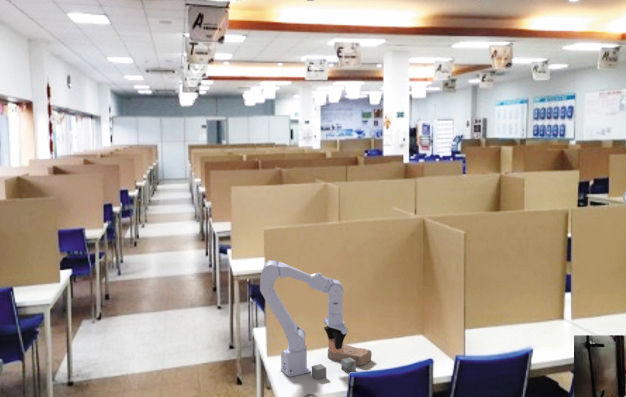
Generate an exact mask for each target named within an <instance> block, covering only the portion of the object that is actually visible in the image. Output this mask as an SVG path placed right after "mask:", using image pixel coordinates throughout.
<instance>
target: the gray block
mask: <svg viewBox="0 0 626 397" xmlns="http://www.w3.org/2000/svg"><path fill="white" fill-rule="evenodd" d="M311 377H312V378H313V379H315V380H316V381H319V380H323V379H326V378H327V367H326V366H324V365H323V364H322V363H320V364H316V365H311Z"/></svg>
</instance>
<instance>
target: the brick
mask: <svg viewBox="0 0 626 397" xmlns="http://www.w3.org/2000/svg"><path fill="white" fill-rule="evenodd" d="M372 354H373V353H372V350H371V349H367V348H361V347H360V348H359V347H355V346H352V345H348V344H344V343H343V351H341V352H337V353H333V352H331V351H330V350H329V348H327V358H328V359H330V360H333V361H337V362H341V359H346V358H352V359H353V360H355V361H356V366H358V367H359V366H364V365H366V364H367V363H369V362H370V361H371V360H372V356H373V355H372Z"/></svg>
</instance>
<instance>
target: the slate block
mask: <svg viewBox="0 0 626 397" xmlns="http://www.w3.org/2000/svg"><path fill="white" fill-rule="evenodd" d="M340 362H341V365H340V366H341V370H342V371H343V372H345V373H346V374H347V373H348V372H349V373H351V372H350V371H353V372H356V371H357V367H356V366H357V365H356V361H355V360H353V359H352V358H346V359H341V361H340Z"/></svg>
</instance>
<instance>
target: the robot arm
mask: <svg viewBox="0 0 626 397" xmlns="http://www.w3.org/2000/svg"><path fill="white" fill-rule="evenodd" d="M259 276H260V277H259V278H260V279H259V280H260V283H259V291H260V293H261V295H262V296H263V298H264V300H265V301H266V303H267V305H268V306H269V309H271V311H272V313H273V315H274V316H275V318H276V320H277V322H278V323H279V324H280V326H281V328H282V330H283V331H284V334H285V338H286V339H287V341H288V342H287V344H288V345H287V349H285V350H282V351H281V354H280V360H281V361H280V366H281V368H280V371H282V373H284V374H285V375H286V376H287V377H290V378H292V377H295V376H300V375H303V374H308V373H312V369H310V368H308V367H307V366H308V364H307V363H308V358H307V356H308V354H307V353H308V352H307V351H308V350H307V346H306V341H305V340H306V332H305V330H304V329H303V328H301V327H300V326H299V325H298V323H297V322H295V321H294V319H293V318H292V316H291V314H290V313H289V311H288V309H287V308H286V306H285V304H284V303H283V301H282V299H281V298H280V296H279V294H278V293H277V292H276V289H275V287H274V286H275V283H276V281H277V279H278V278H279V279H284V278H287V277H289V278H290V279H291V278H292V279H294V280H297V281H301V282H304V283H306V284H308V287H309V288H311V289H314V290H315V291H316V290H317V291H318V292H321V293H324V294H327V295H328V300H327V318H323V324H325V325H327V326H324V327H323V328H324V331H325V333H326V335H327V339H328V340H329V339H335V347H336V349H341V348H342V344H344V341H345V338H346V336H347V334H348V332H349V330H348V328H347V326H346V321H344V300H343V298H344V297H343V295H344V288H343V284H342V282H341V281H340V280H338V279H336V278H334V279H333V278H332V277H331V278H329V277H326V276H324V275H322V273H321V272H317V273H316V272H314V273H312V274H310V273H308V272H305V271H302V270H301V269H298V268H296V267H294V266H291V265H289V264H288V263H287V264H286V263H284V262H282V261H277V260H275V259H270V260H268V261H266V262H265V264H264V266H263V268H262V271H261V274H260V275H259Z"/></svg>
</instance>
